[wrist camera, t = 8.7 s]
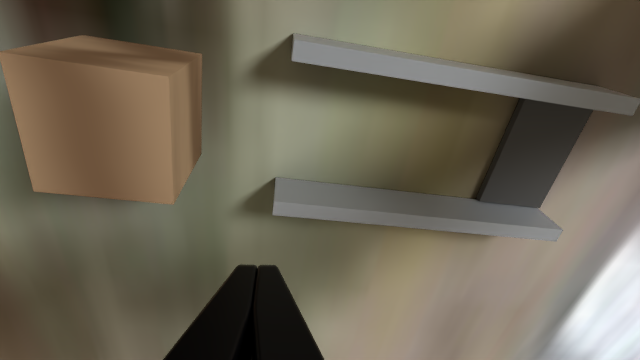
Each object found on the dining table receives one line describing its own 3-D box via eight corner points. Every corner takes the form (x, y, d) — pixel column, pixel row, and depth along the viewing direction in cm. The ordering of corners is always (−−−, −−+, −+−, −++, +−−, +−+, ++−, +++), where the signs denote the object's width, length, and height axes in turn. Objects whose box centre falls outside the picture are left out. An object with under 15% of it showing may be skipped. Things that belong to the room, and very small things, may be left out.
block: (202, 53, 16) (168, 76, 11) (201, 153, 18) (173, 204, 14) (83, 35, 15) (-2, 51, 11) (98, 141, 17) (33, 191, 13)
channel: (599, 86, 18) (642, 99, 16) (528, 216, 22) (556, 241, 19) (293, 33, 15) (294, 39, 13) (274, 189, 19) (272, 215, 17)
